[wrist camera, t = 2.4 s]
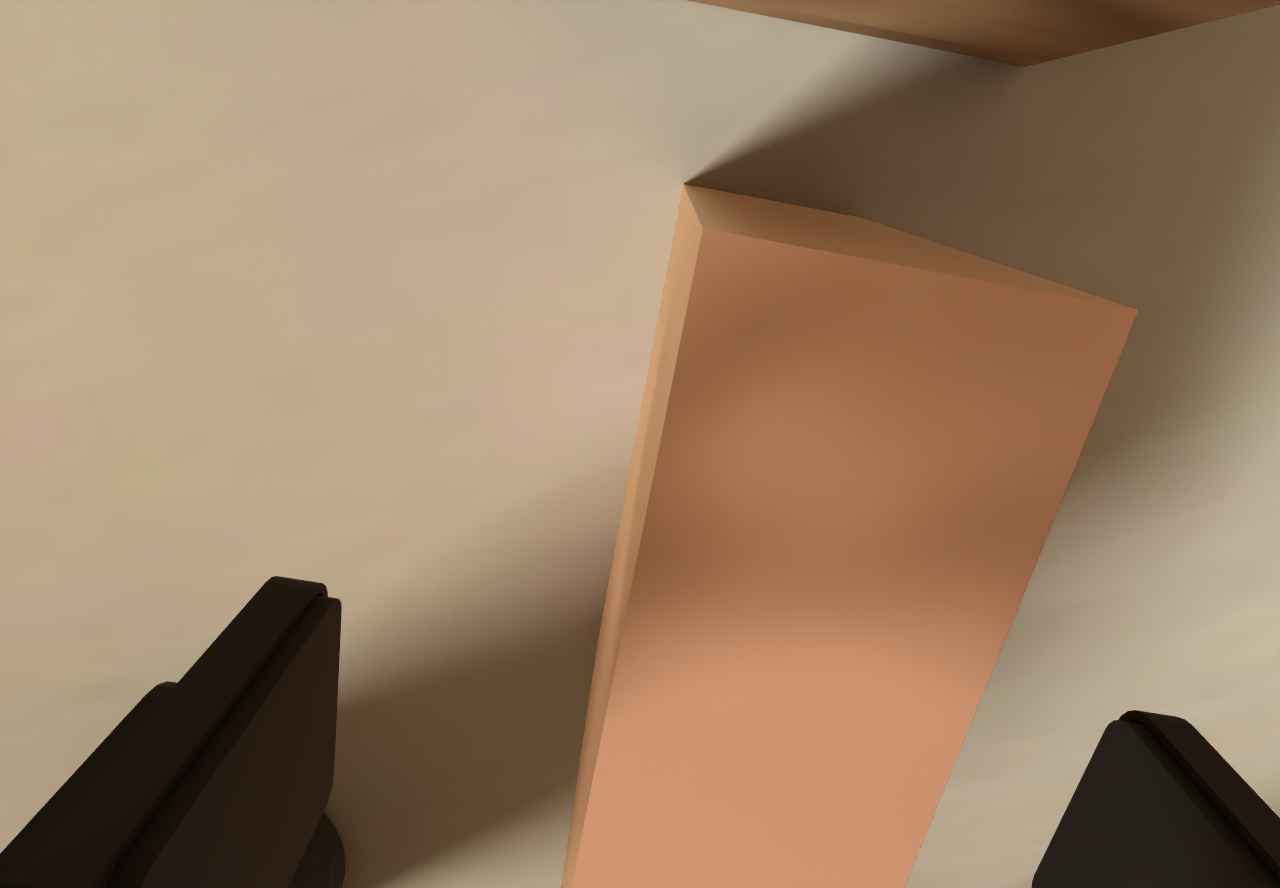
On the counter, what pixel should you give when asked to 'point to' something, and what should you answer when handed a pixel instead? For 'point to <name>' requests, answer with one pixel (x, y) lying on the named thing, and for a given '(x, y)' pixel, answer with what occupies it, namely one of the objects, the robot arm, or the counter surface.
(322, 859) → the travel mug
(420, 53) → the counter surface
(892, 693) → the peach rectangular block
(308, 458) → the counter surface
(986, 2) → the wooden crate
